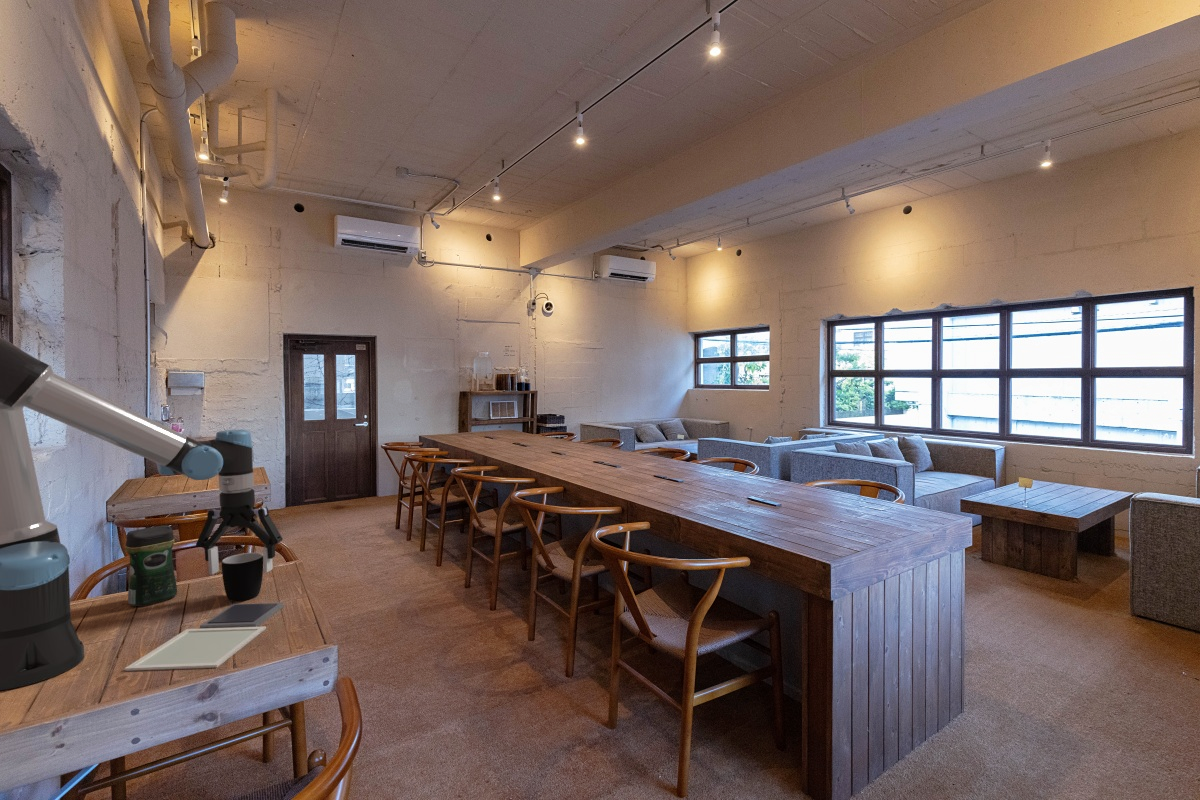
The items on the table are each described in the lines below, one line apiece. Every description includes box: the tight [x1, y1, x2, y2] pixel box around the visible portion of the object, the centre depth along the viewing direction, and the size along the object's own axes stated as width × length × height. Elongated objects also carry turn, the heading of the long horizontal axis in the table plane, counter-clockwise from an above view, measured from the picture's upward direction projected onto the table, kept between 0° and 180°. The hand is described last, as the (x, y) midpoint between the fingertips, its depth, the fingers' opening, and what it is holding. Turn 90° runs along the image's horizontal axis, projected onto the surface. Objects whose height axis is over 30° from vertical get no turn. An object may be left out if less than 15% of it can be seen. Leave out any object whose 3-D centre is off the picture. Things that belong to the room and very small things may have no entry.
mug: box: [221, 552, 264, 603], centre depth 143 cm, size 12×9×10 cm
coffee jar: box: [124, 524, 178, 607], centre depth 141 cm, size 10×8×19 cm
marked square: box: [124, 625, 267, 672], centre depth 114 cm, size 17×17×1 cm
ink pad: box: [199, 602, 285, 629], centre depth 129 cm, size 12×12×1 cm
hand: (241, 572), depth 143 cm, fingers open, 13 cm apart
